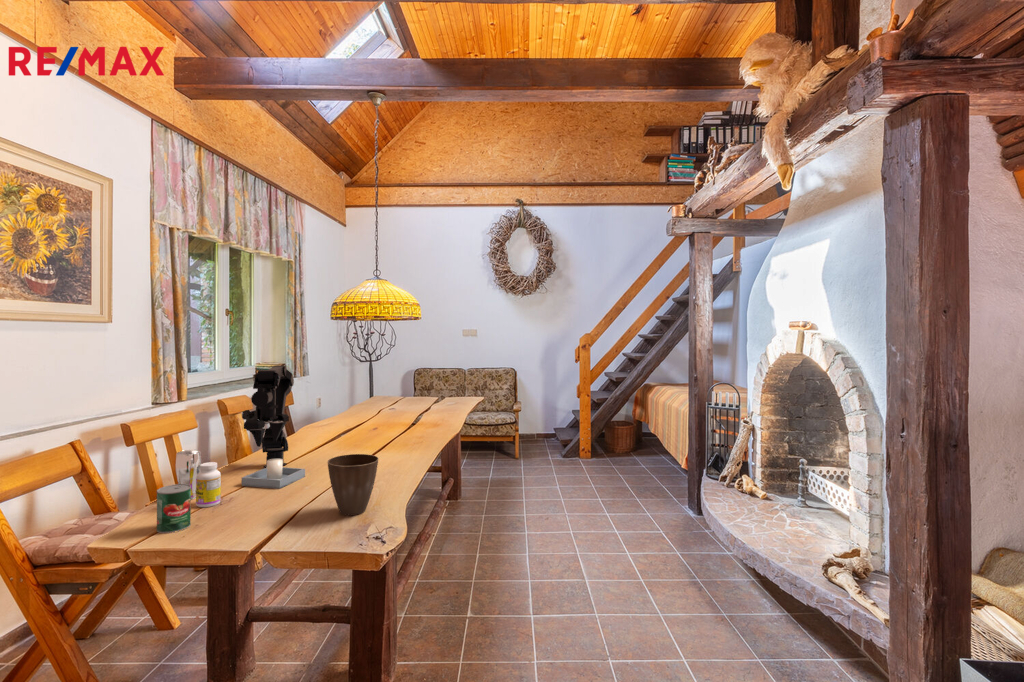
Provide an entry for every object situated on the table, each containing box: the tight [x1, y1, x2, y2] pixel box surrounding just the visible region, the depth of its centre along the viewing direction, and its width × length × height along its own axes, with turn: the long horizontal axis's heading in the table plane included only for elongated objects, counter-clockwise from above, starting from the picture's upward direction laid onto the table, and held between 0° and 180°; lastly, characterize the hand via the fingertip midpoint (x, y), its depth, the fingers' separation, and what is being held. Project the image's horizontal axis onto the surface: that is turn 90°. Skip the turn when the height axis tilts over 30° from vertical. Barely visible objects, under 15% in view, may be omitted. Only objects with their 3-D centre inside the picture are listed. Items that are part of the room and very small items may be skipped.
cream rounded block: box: [267, 459, 284, 479], centre depth 181 cm, size 5×5×7 cm
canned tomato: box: [156, 483, 192, 534], centre depth 138 cm, size 8×8×11 cm
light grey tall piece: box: [175, 449, 202, 500], centre depth 162 cm, size 7×7×15 cm
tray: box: [241, 466, 306, 490], centre depth 181 cm, size 15×15×3 cm
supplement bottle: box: [195, 461, 222, 508], centre depth 156 cm, size 7×7×13 cm
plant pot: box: [327, 453, 379, 516], centre depth 152 cm, size 15×15×16 cm
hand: (267, 443), depth 188 cm, fingers open, 9 cm apart
